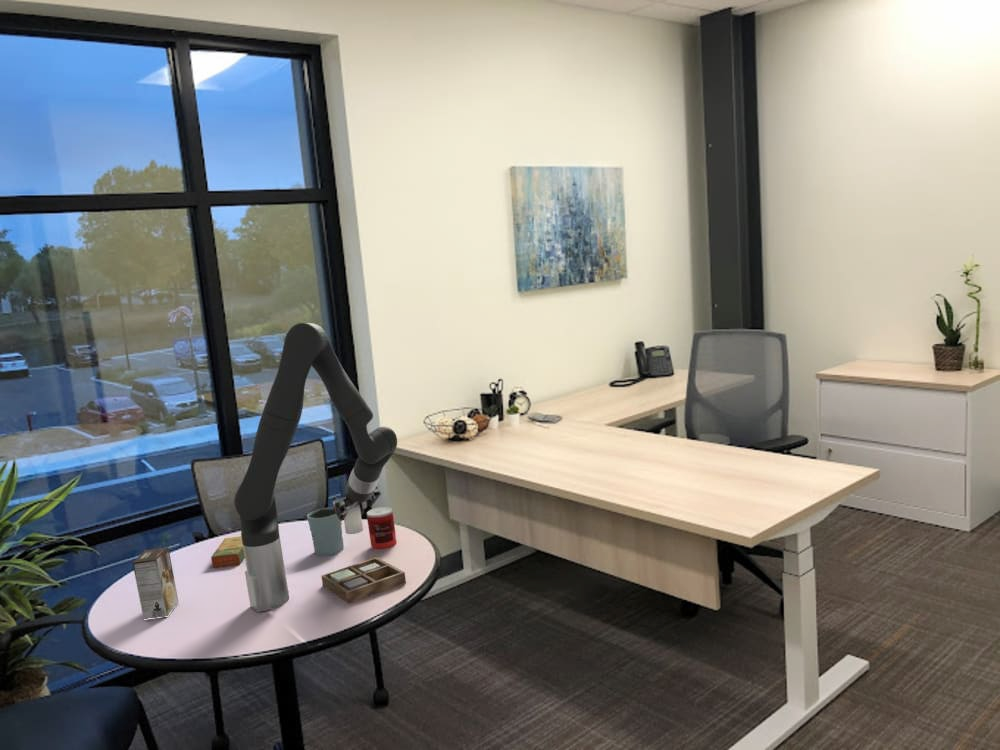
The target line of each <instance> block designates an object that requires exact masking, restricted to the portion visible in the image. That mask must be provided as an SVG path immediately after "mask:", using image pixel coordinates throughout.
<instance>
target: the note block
mask: <svg viewBox="0 0 1000 750" xmlns="http://www.w3.org/2000/svg"><path fill="white" fill-rule="evenodd" d="M354 576H356V574H355V573H353V572H351V571H350V570H348V569H346V570H343V571H340V572H337V573H334V574H331V575H330V577H331V580H333V581H334V582H339V581H342V580H345V579H348V578H351V577H354Z"/></svg>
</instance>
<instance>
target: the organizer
mask: <svg viewBox="0 0 1000 750" xmlns="http://www.w3.org/2000/svg"><path fill="white" fill-rule="evenodd" d="M373 563H376V564H378V565H380V566H381V567H380V568H377V569H374V570H371V571H368V572H365V573H362V572H361V571H359V569H358V568H361V567H364V566H367V565H370V564H373ZM346 569H348V570H350V571H351V572H353V573H355V574H356V576H354V577H351V578H348V579H345V580H342V581H339V582H334V581H333V580H331V577H330V575H331V574H334V573H337V572H340V571H343V570H346ZM320 576H321V582H322V587H323V588H325V589H327V591H329V592H331V593H333V595H335V596H336V597H338V598H340V599H341V600H343V602H346V604H352V603H355V602H358V601H361V600H363V599H366V598H370V597H371V596H374V595H377V594H379V593H380V594H381V593H383V592H385V591H389V590H390V589H393V588H397V587H399V586H402V585H405V584H406V583H407V579H406V573H405V571H403V570H401V569H399V568H397V567H396V566H394V565H392V564H390V563H388V562H386V561H384V560H383V559H381V558H379V557H372V558H369V559H367V560H363V561H361V562H358V563H355V564H352V565H348V566H346V567H343V568H340V569H337V570H335V571H331V572H328V573H325V574H322V575H320ZM360 577H361V578H363V579H365V580H366V581H368V584H367V585H364V586H361V587H358V588H355V589H353V590H350V591H348V590H347V589H345V588H344V585H343V583H346V582H349V581H351V580H354V579H357V578H360Z"/></svg>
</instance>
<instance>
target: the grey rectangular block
mask: <svg viewBox="0 0 1000 750" xmlns="http://www.w3.org/2000/svg"><path fill="white" fill-rule="evenodd" d="M380 567H381V566H380V565H378V564H376V563H373V564H370V565H367V566H364V567H361V568H358V569H359V571H361V572H362V573H365V572H368V571H371V570H374V569H377V568H380Z"/></svg>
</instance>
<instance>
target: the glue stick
mask: <svg viewBox="0 0 1000 750" xmlns="http://www.w3.org/2000/svg"><path fill="white" fill-rule="evenodd" d="M344 509H345V508H344ZM343 524H344V530H345V534H346V535H355V534H360V533H362V532H363V531H364V530H363V529H364V528H363V527H364V526H363V520H362V514H361V510H360V504H358V505H354V507H353V508H352V509H351V510H350V511H347V513H346V516H345V518H344V520H343Z"/></svg>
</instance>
